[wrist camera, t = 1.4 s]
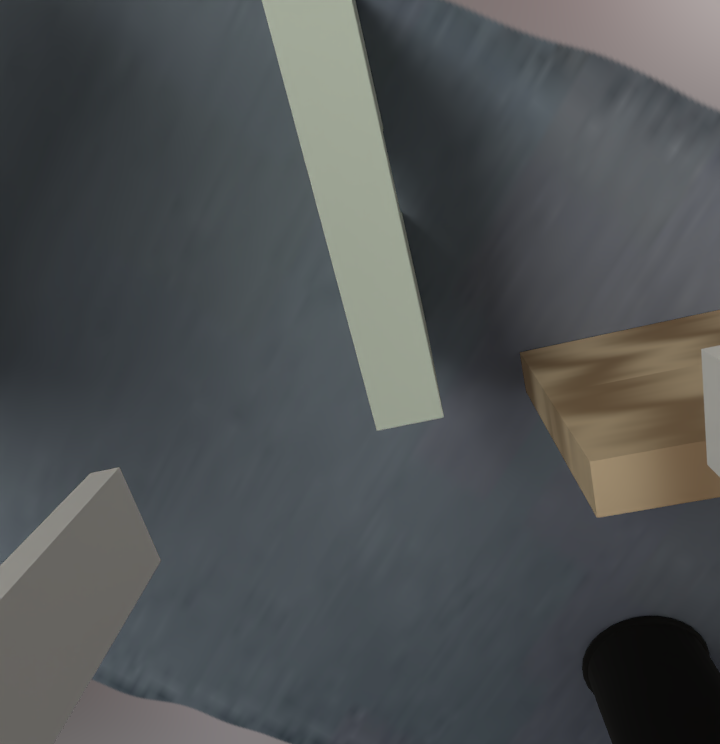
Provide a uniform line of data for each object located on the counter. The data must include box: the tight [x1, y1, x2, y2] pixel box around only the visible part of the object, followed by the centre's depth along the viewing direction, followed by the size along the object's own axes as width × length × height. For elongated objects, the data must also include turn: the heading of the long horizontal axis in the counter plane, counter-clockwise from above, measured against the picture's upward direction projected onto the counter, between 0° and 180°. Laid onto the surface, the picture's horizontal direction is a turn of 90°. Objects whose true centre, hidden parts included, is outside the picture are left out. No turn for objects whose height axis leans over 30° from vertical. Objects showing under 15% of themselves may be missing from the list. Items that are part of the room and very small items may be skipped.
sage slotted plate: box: [262, 0, 444, 431], centre depth 23 cm, size 16×2×12 cm, turn 14°
